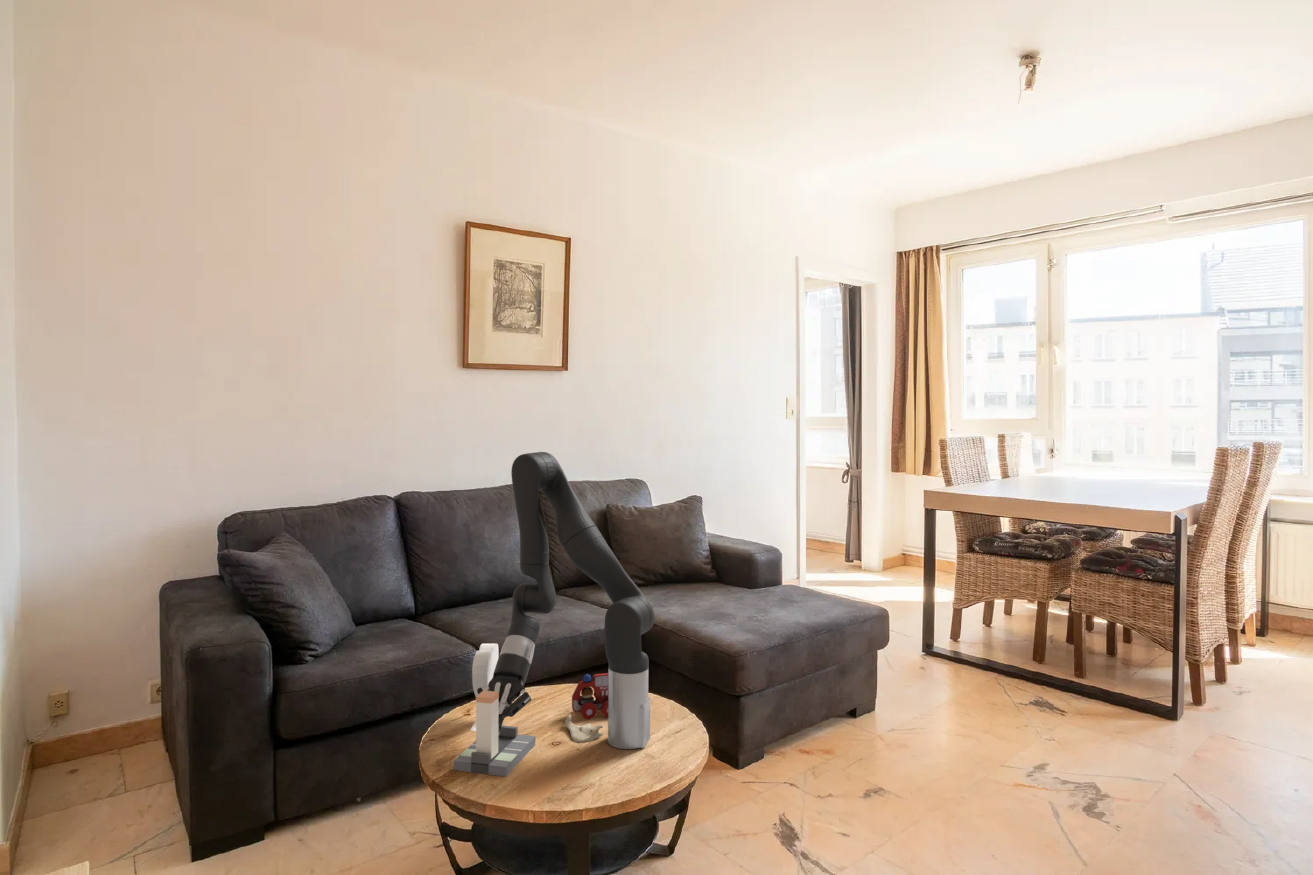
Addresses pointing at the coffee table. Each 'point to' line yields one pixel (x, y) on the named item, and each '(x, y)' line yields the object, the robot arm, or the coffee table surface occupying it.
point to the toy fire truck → (587, 700)
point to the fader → (487, 722)
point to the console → (504, 761)
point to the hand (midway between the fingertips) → (492, 732)
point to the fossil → (582, 731)
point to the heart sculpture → (484, 668)
